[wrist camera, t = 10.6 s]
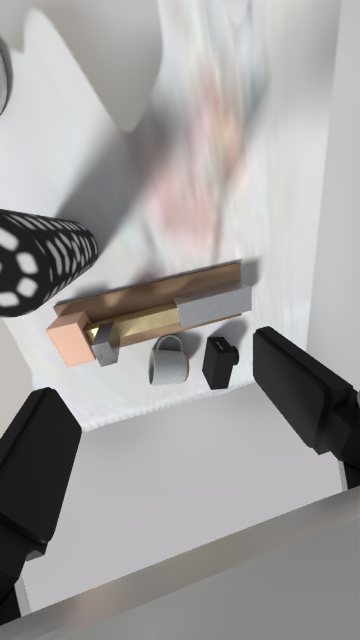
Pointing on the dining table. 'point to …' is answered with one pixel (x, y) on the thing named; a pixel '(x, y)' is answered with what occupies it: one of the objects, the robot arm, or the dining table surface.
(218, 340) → the digital camera
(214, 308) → the metal sleeve
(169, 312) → the hammer
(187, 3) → the dining table surface
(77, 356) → the terracotta socket
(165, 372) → the ceramic mug
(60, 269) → the spotted tube
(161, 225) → the dining table surface
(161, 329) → the walnut board
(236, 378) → the dining table surface
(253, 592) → the robot arm
